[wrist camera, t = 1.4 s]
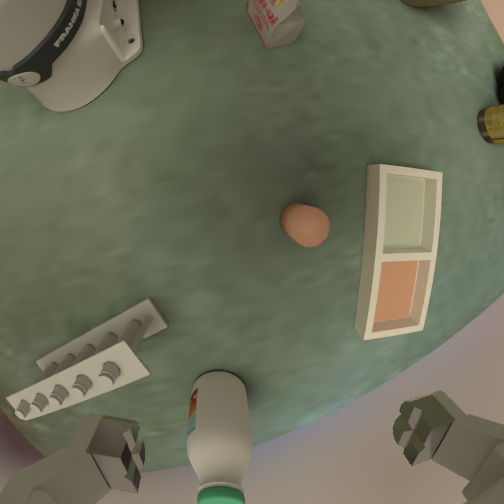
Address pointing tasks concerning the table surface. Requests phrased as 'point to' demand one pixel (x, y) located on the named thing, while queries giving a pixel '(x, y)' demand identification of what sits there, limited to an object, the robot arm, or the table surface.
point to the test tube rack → (91, 363)
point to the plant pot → (429, 2)
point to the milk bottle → (219, 437)
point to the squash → (501, 84)
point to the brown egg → (305, 224)
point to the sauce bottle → (492, 124)
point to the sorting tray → (398, 249)
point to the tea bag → (276, 21)
